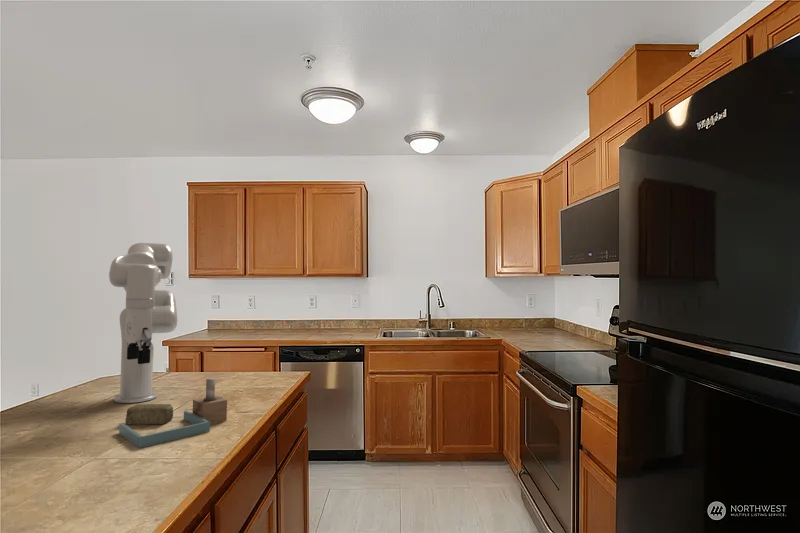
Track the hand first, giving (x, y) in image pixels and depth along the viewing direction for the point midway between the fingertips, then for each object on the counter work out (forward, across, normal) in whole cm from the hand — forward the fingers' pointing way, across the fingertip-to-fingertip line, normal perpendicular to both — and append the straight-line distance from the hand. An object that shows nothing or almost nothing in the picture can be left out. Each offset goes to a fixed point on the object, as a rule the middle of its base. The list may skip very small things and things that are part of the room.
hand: (138, 361), depth 137 cm
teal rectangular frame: (+16, +23, 0) cm, 28 cm away
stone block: (+16, +11, 0) cm, 20 cm away
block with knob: (+16, +21, +13) cm, 29 cm away
